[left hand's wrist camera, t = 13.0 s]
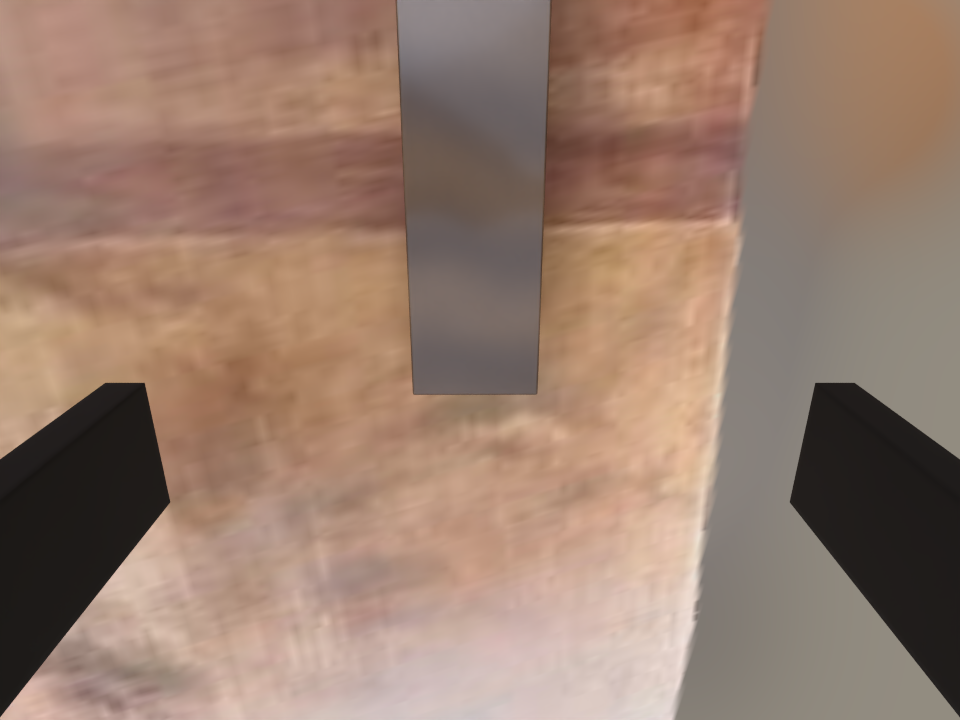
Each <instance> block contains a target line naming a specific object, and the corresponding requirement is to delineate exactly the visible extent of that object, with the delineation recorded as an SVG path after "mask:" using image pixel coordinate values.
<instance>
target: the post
mask: <svg viewBox="0 0 960 720" xmlns="http://www.w3.org/2000/svg"><path fill="white" fill-rule="evenodd" d="M551 3H552V0H396V17H397V40H398V62H399V85H400V108H401V131H402V154H403V177H404V199H405V222H406V245H407V268H408V291H409V314H410V336H411V359H412V382H413V394H414V395H532V394H537V390H538V362H539V335H540V307H541V279H542V252H543V224H544V197H545V169H546V141H547V114H548V86H549V59H550V31H551Z"/></svg>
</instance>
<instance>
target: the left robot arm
mask: <svg viewBox="0 0 960 720" xmlns="http://www.w3.org/2000/svg"><path fill="white" fill-rule="evenodd" d="M169 503H170V499H169V494H168V490H167V485H166V480H165V476H164V471H163V466H162V462H161V457H160V452H159V448H158V443H157V438H156V434H155V429H154V424H153V420H152V415H151V410H150V406H149V401H148V397H147V392H146V387H145V383H105V384H103V385H102V386H101V387H99V388H98V389H96V390H95V391H94V392H92V393H91V394H90V395H88V396H87V397H85V398H84V399H83V400H81V401H80V402H79V403H77V404H76V405H74V406H73V407H72V408H70V409H69V410H68V411H66V412H65V413H63V414H62V415H61V416H59V417H58V418H57V419H55V420H54V421H52V422H51V423H50V424H48V425H47V426H46V427H44V428H43V429H41V430H40V431H39V432H37V433H36V434H35V435H33V436H32V437H30V438H29V439H28V440H26V441H25V442H24V443H22V444H21V445H19V446H18V447H17V448H15V449H14V450H13V451H11V452H10V453H8V454H7V455H6V456H4V457H3V458H2V459H0V717H1V715H2V714H3V713H4V712H5V710H6V709H7V708H8V707H9V705H10V704H11V703H12V702H13V700H14V699H15V698H16V696H17V695H18V694H19V693H20V691H21V690H22V689H23V688H24V686H25V685H26V684H27V683H28V681H29V680H30V679H31V678H32V676H33V675H34V674H35V672H36V671H37V670H38V669H39V667H40V666H41V665H42V664H43V662H44V661H45V660H46V659H47V657H48V656H49V655H50V653H51V652H52V651H53V650H54V648H55V647H56V646H57V645H58V643H59V642H60V641H61V640H62V638H63V637H64V636H65V635H66V633H67V632H68V631H69V629H70V628H71V627H72V626H73V624H74V623H75V622H76V621H77V619H78V618H79V617H80V616H81V614H82V613H83V612H84V611H85V609H86V608H87V607H88V605H89V604H90V603H91V602H92V600H93V599H94V598H95V597H96V595H97V594H98V593H99V592H100V590H101V589H102V588H103V586H104V585H105V584H106V583H107V581H108V580H109V579H110V578H111V576H112V575H113V574H114V573H115V571H116V570H117V569H118V568H119V566H120V565H121V564H122V562H123V561H124V560H125V559H126V557H127V556H128V555H129V554H130V552H131V551H132V550H133V549H134V547H135V546H136V545H137V544H138V542H139V541H140V540H141V538H142V537H143V536H144V535H145V533H146V532H147V531H148V530H149V528H150V527H151V526H152V525H153V523H154V522H155V521H156V520H157V518H158V517H159V516H160V514H161V513H162V512H163V511H164V509H165V508H166V507H167V506H168V504H169ZM790 503H791V504H792V506H793V507H794V508H795V509H796V511H797V512H798V513H799V514H800V516H801V517H802V518H803V519H804V521H805V522H806V523H807V525H808V526H809V527H810V528H811V530H812V531H813V532H814V533H815V535H816V536H817V537H818V538H819V540H820V541H821V542H822V543H823V545H824V546H825V547H826V549H827V550H828V551H829V552H830V554H831V555H832V556H833V557H834V559H835V560H836V561H837V562H838V564H839V565H840V566H841V567H842V569H843V570H844V571H845V573H846V574H847V575H848V576H849V578H850V579H851V580H852V581H853V583H854V584H855V585H856V586H857V588H858V589H859V590H860V592H861V593H862V594H863V595H864V597H865V598H866V599H867V600H868V602H869V603H870V604H871V605H872V607H873V608H874V609H875V610H876V612H877V613H878V614H879V616H880V617H881V618H882V619H883V621H884V622H885V623H886V624H887V626H888V627H889V628H890V629H891V631H892V632H893V633H894V634H895V636H896V637H897V638H898V640H899V641H900V642H901V643H902V645H903V646H904V647H905V648H906V650H907V651H908V652H909V653H910V655H911V656H912V657H913V658H914V660H915V661H916V662H917V664H918V665H919V666H920V667H921V669H922V670H923V671H924V672H925V674H926V675H927V676H928V677H929V679H930V680H931V681H932V682H933V684H934V685H935V686H936V688H937V689H938V690H939V691H940V693H941V694H942V695H943V696H944V698H945V699H946V700H947V702H948V703H949V704H950V705H951V707H952V708H953V709H954V710H955V712H956V713H957V714H958V715H959V717H960V459H958V458H957V457H956V456H954V455H953V454H951V453H950V452H949V451H947V450H946V449H945V448H943V447H942V446H941V445H939V444H938V443H936V442H935V441H934V440H932V439H931V438H929V437H928V436H927V435H925V434H924V433H923V432H921V431H920V430H918V429H917V428H916V427H914V426H913V425H912V424H910V423H909V422H908V421H906V420H905V419H903V418H902V417H901V416H899V415H898V414H897V413H895V412H894V411H892V410H891V409H890V408H888V407H887V406H885V405H884V404H883V403H881V402H880V401H879V400H877V399H876V398H875V397H873V396H872V395H870V394H869V393H868V392H866V391H865V390H864V389H862V388H861V387H859V386H858V385H857V384H855V383H815V387H814V392H813V397H812V401H811V406H810V411H809V415H808V420H807V425H806V429H805V434H804V438H803V443H802V448H801V452H800V457H799V462H798V466H797V471H796V476H795V480H794V485H793V490H792V494H791V499H790Z"/></svg>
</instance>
